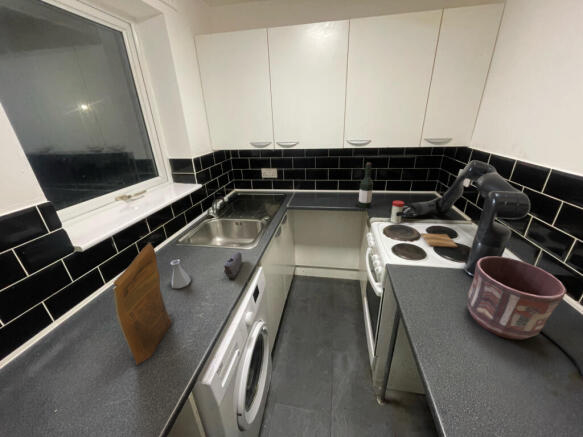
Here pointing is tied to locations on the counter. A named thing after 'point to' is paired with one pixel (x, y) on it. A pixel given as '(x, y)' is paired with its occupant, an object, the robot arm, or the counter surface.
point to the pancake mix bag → (141, 305)
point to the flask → (179, 275)
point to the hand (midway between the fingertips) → (393, 212)
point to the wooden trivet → (439, 240)
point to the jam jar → (393, 215)
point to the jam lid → (398, 203)
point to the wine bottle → (366, 189)
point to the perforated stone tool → (233, 265)
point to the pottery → (512, 297)
